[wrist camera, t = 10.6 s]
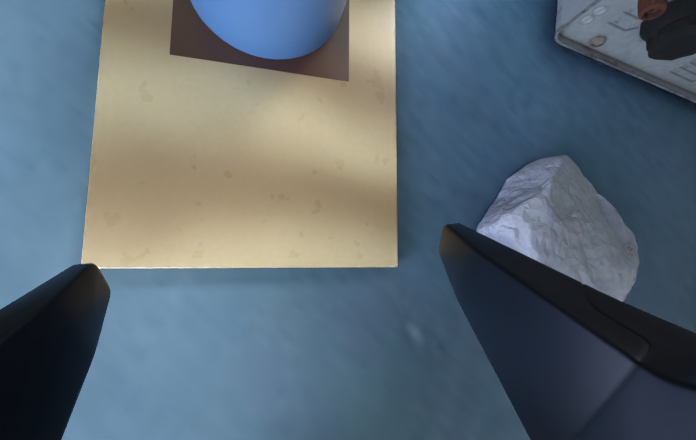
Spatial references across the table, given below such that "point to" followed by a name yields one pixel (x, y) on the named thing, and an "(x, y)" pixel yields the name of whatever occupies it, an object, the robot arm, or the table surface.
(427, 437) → the table surface
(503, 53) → the table surface
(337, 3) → the blue cylinder
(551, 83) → the table surface
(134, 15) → the birch board
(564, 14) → the vintage electronic device
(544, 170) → the stone block
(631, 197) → the table surface
